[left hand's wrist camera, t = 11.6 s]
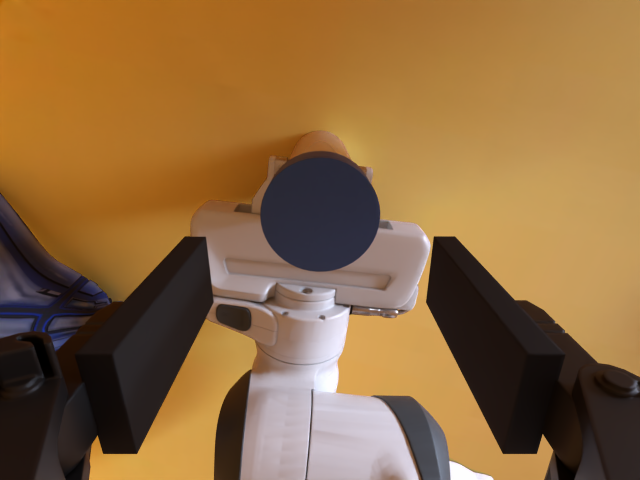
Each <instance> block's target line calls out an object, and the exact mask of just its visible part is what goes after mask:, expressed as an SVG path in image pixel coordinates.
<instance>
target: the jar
mask: <svg viewBox="0 0 640 480" xmlns="http://www.w3.org/2000/svg"><path fill="white" fill-rule="evenodd" d="M311 151H330V152H334V153H338V154H340V155H343V156H345V157H347V158H348V159H350V160H351V158H350V156H349V154H348V152H347V150H346V147H345V146H344V144H343V142H342V141H341V140H340V139H339V138H338V137H337V136H335V135H334V134H332V133H329V132H326V131H314V132H310V133H308V134H306V135H305V136H303V137H302V138H301V139H300V140H299V141H298V142H297V144H296V145H295V147H294V149H293V152H292V154H291V156H290V158H289V160H290V159H292V158H293V157H295V156H298V155H300V154H303V153H306V152H311ZM289 160H288V161H289Z"/></svg>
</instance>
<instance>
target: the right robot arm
mask: <svg viewBox="0 0 640 480" xmlns="http://www.w3.org/2000/svg"><path fill="white" fill-rule="evenodd" d="M287 161H288V157H280V156H272V155H271V156H270V157H269V163H268V176H267V178H266V180H265V181H264V183H263V184H262V186H261V187H260V189H259V190H258V191H257V193H256V194H255V196H254V197H253V199H252V204H243V203H235V202H226V201H217V200H209V201H207V202H206V203H205V204H203V205H202V206H201V207H200V208H199V209H198V210H197V211H196V212H195V213H194V215H193V217H192V219H191V237H206V240H207V249H208V257H209V266H210V274H211V282H212V291H213V299H214V303H213V305H212V307H211V309H210V311H209V313H208V315H207V317H206V319H208V320H209V321H211V322H213V323H216V324H219V325H221V326H224V327H227V328H229V329H232V330H234V331H237V332H239V333H242V334H244V335H246V336H248V337H250V338H252V339H254V340H255V343H256V347H257V355H256V358H255V360H254V362H253V366H252V370H249V371H248V372H246V373H245V374H244V375H243V376H242V377H241V378H240V379H239V380H238V381H237V382H236V383H235V384H234V386H233V387H232V388H231V389H230V390H229V392H228V393H227V395H226V397H225V399H224V401H223V404H222V407H221V410H220V414H219V418H218V423H217V430H216V440H215V461H214V480H493V478H492V477H491V476H488V475H485V474H480V473H474V472H472V471H470V470H469V469H467V468H465V467H464V466H462V465H460V464H458V463H455V462H452V461H449V453H448V447H447V442H446V438H445V435H444V432H443V430H442V429H441V427H440V426H439V424H438V423H437V422H436V420H435V419H434V418H433V417H432V416H431V415H430V414H429V412H428V411H427V410H426V409H425V408H424V407H423V406H422V405H420V404H419V403H418V402H417V401H416V400H415V399H414V398H412V397H410V396H376V395H374V396H371V397H369V396H360V395H351V394H341V393H336V389H337V384H338V376H339V373H338V366H337V361H338V358H339V357H340V355H341V353H342V351H343V348H344V344H345V338H346V332H347V326H348V321H349V315H350V314H354V315H364V316H369V315H370V316H372V315H373V316H382V317H384V318H396V317H397V315H400V314H404V313H406V312H408V311H409V310H412V309H413V307H414V305H415V302H416V298H417V294H418V282H419V280H420V278H421V275H422V273H423V270H424V267H425V264H426V261H427V258H428V255H429V252H430V242H429V240H428V238H427V236H426V234H425V233H424V232H423V230H422V229H421V228H420V227H419V226H418V225H417V224H415V223H408V222H399V221H391V220H382V219H380V222H379V228H378V231H377V234H376V236H375V239H374V241H373V242H372V244H371V246H370V247H369V248H368V250H367V251H366V252H365V253H364V254H363V255H362V256H361V257H360V258H359V259H357V260H356V261H354V262H353V263H351V264H349V265H347V266H345V267H343V268H340V269H337V270H333V271H326V272H315V271H308V270H303V269H300V268H297V267H295V266H293V265H291V264H289V263H288V262H286V261H284V260H283V259H282V258H281V257H279V256H278V255H277V254H276V253H275V252H274V250H273V249H272V248H271V247H270V245H269V244H268V242H267V240H266V238H265V236H264V233H263V230H262V226H261V220H260V209H261V203H262V199H263V196H264V193H265V191H266V189H267V187H268V185H269V184H270V182H271V180H272V178H273V176H274V175H275V174H276V172H277V171H278V170H279V169H280V167H281V166H282V165H284V164H285V163H286V162H287ZM359 167H360V168H361V169H362V171H363V172H364V173H365V174H366V176H367V178H368V180H369V181H370V183H371V181H372V175H373V170H372V168H371V167H363V166H359ZM398 309H399V310H398Z"/></svg>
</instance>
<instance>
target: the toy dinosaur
mask: <svg viewBox="0 0 640 480" xmlns="http://www.w3.org/2000/svg"><path fill="white" fill-rule="evenodd" d="M110 303H112V300H111V298H108V296H107V294H106V293H105V292H103V290H102V289H100V288H99V287H98V284H96V283H95V282H93V281H92V280H88V279H87V278H85V277H83V276H82V275H81V274H79V273H78V272H76V271H74V270H72V269H71V268H69V267H67V266H65V265H63V264H62V263H60V262H58V261H57V260H56V259H54V258H53V257H52V256H51V255H49V253H48V252H47V251H46V250H45V249H44V248H43V247H42V245H41V244H40V243H39V242H38V240H37V239H36V238H35V236H34V235H33V234H32V232H31V231H30V230H29V228H28V227H27V226H26V225H25V223H24V222H23V221H22V219H21V218H20V217H19V215H18V214H17V213H16V212H15V210H14V209H13V208H12V207H11V205H10V204H9V203H8V202H7V201H6V199H5V198H4V197H3V196H2V194H1V193H0V339H1V338H3V337H6V336H10V335H14V334H17V333H22V332H31V331H37V332H45V333H46V334H48V335H50V336H51V338H52V342H53V345H54V348H55V351H57V350H58V349H59V348H60V347H61V346H62V345H63V344H64V343H65V342H66V341H67V340H68V339H69V338H70V337H71V336H72V335H75V334H76V331H77V330H78V329H79V328H80V327H81V326H82V325H85V322H86V321H88V320H89V319H90V318H91V317H92V316H93V315H94V314H95V313H96V312H97V311H98V310H100V309H102V308H104V307H105V306H107V305H109V304H110ZM90 453H91V446H90V448H89V449H88V451H87V454H88V457H89V461H90Z"/></svg>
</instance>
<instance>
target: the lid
mask: <svg viewBox="0 0 640 480" xmlns="http://www.w3.org/2000/svg"><path fill="white" fill-rule="evenodd" d="M260 220H261V226H262V230H263V233H264V236H265V238H266V240H267V242H268V244H269V245H270V247H271V248H272V249H273V250H274V252H275V253H276V254H277V255H278V256H279V257H281V258H282V259H283V260H284V261H286V262H288V263H289V264H291V265H293V266H295V267H297V268H300V269H303V270H308V271H315V272H326V271H333V270H337V269H340V268H343V267H345V266H347V265H349V264H351V263H353V262H354V261H356V260H357V259H359V258H360V257H361V256H362V255H363V254H364V253H365V252H366V251H367V250H368V248H369V247H370V246H371V244H372V242H373V241H374V239H375V236H376V234H377V231H378V228H379V222H380V206H379V202H378V198H377V195H376V193H375V190H374V188H373V187H372V185H371V183H370V181H369V180H368V178H367V176H366V174H365V173H364V172H363V171H362V169H361V168H360V167H359V166H358V165H357V164H356V163H354V162H353V161H352V160H350V159H348V158H347V157H345V156H343V155H340V154H338V153H334V152H330V151H311V152H306V153H303V154H300V155H298V156H295V157H293V158H292V159H290V160H289V161H287V162H286V163H285V164H284V165H282V166H281V167H280V169H279V170H278V171H277V172H276V174H275V175H274V176H273V178H272V180H271V182H270V184H269V185H268V187H267V189H266V191H265V193H264V196H263V199H262V203H261V209H260Z"/></svg>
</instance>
